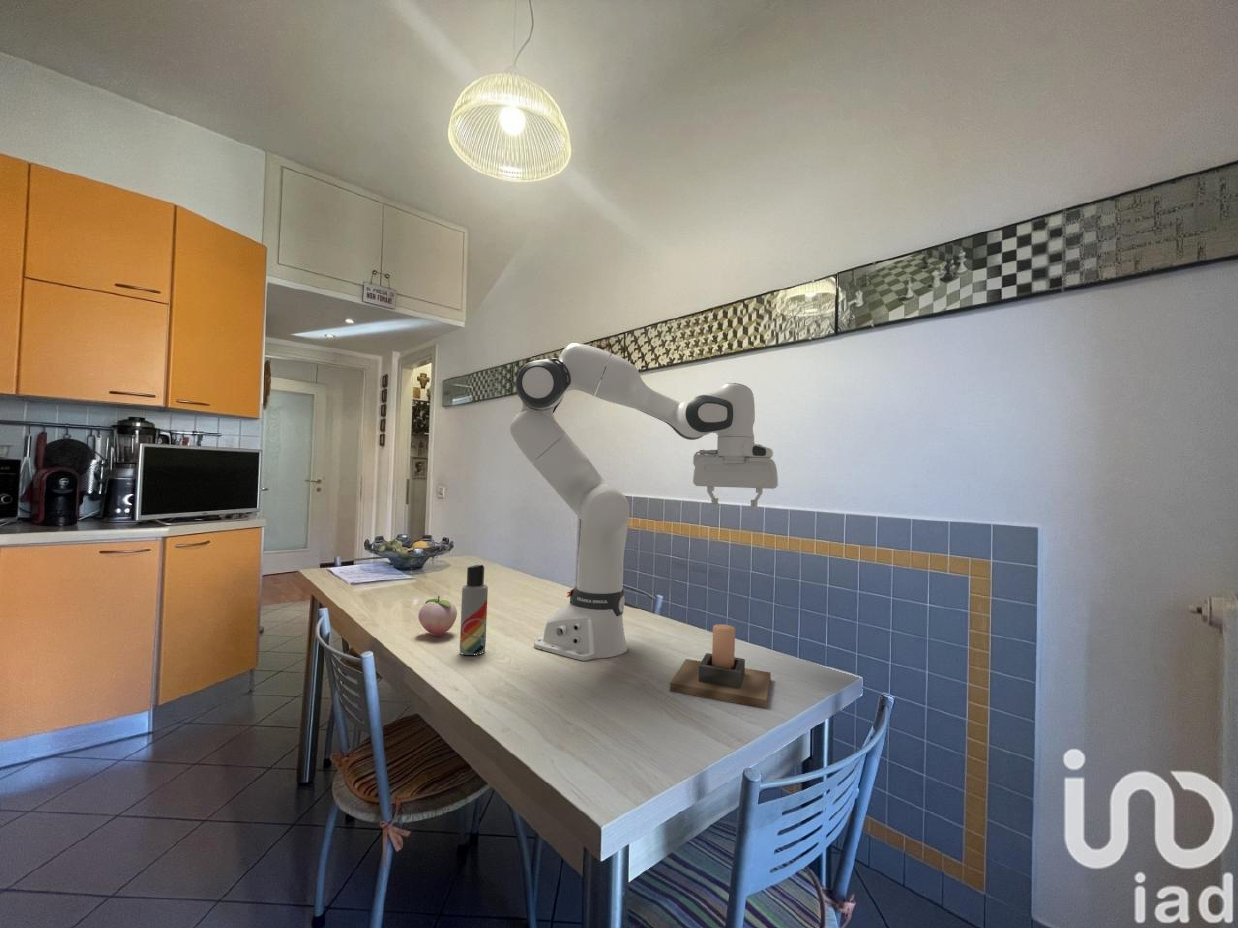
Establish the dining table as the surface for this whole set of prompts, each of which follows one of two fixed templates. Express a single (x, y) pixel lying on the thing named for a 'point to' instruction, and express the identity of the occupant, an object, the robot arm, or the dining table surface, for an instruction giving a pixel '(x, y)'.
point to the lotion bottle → (474, 612)
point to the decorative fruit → (437, 616)
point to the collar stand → (723, 682)
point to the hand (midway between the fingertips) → (734, 506)
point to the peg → (723, 646)
